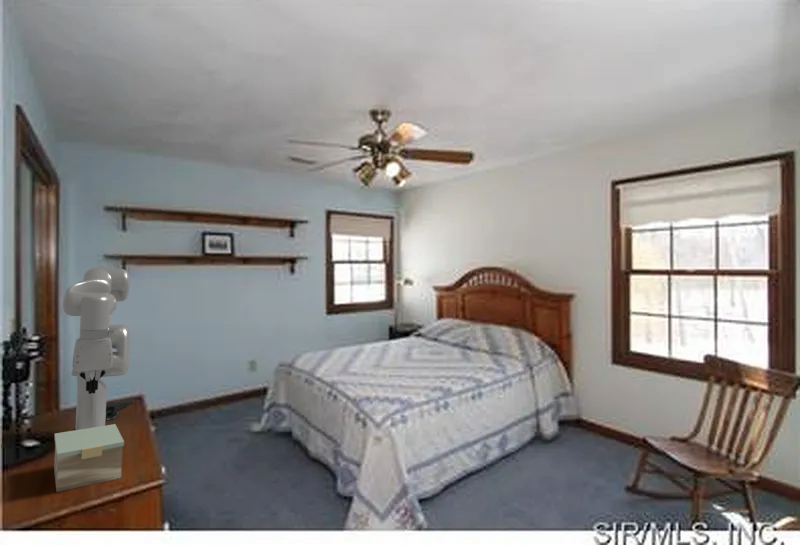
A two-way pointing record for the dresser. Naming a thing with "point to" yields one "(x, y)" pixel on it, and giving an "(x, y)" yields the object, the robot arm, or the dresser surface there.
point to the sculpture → (115, 409)
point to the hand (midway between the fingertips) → (91, 392)
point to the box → (87, 469)
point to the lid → (87, 441)
